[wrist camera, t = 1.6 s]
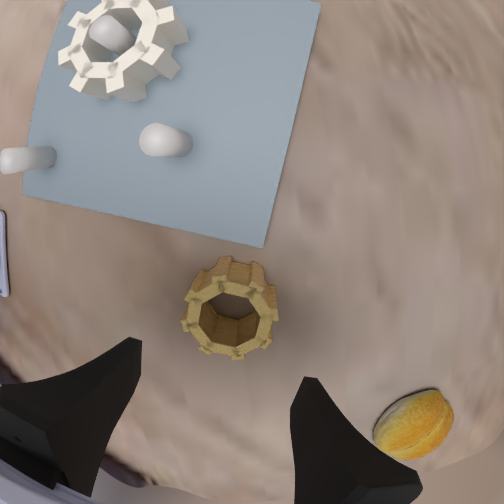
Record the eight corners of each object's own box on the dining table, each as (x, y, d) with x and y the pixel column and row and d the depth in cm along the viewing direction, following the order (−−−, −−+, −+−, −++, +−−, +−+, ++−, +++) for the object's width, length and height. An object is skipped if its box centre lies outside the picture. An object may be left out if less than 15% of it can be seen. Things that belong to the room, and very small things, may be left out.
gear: (76, 99, 16) (46, 92, 13) (105, 9, 14) (82, -10, 11) (170, 107, 16) (151, 96, 13) (200, 8, 14) (188, -18, 11)
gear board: (31, 192, 19) (-20, 205, 13) (78, -2, 14) (39, -29, 9) (262, 243, 20) (262, 276, 14) (318, 11, 15) (336, -33, 9)
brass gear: (188, 321, 21) (177, 347, 18) (200, 248, 20) (189, 266, 16) (263, 338, 22) (263, 367, 18) (284, 267, 20) (288, 288, 17)
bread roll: (425, 373, 23) (443, 401, 19) (454, 409, 25) (468, 433, 21) (354, 425, 25) (363, 456, 21) (393, 452, 26) (403, 478, 23)
